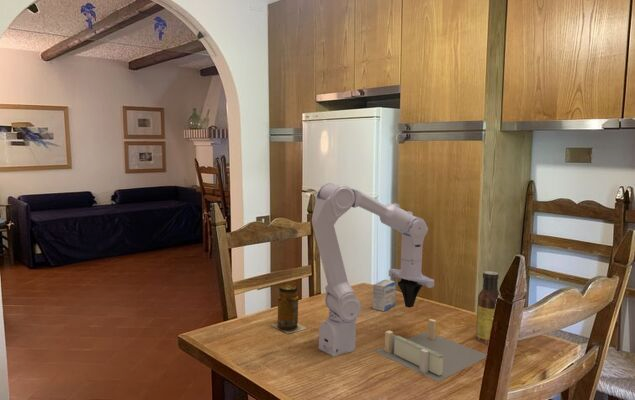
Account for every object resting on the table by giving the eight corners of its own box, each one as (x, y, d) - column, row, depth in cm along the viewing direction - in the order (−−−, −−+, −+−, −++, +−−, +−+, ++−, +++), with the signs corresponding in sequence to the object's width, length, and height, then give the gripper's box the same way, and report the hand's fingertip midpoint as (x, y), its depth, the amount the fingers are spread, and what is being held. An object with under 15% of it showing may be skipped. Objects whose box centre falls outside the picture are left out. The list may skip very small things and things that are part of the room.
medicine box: (383, 312, 151) (384, 286, 151) (372, 309, 154) (373, 283, 153) (395, 305, 158) (396, 281, 157) (383, 303, 160) (384, 278, 159)
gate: (390, 352, 119) (390, 335, 118) (393, 350, 119) (394, 333, 119) (438, 375, 107) (439, 356, 106) (442, 374, 107) (443, 355, 107)
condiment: (290, 320, 143) (291, 282, 141) (307, 328, 136) (308, 289, 135) (270, 325, 138) (271, 286, 137) (287, 334, 131) (287, 294, 130)
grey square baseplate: (437, 384, 105) (439, 359, 104) (373, 353, 120) (374, 331, 119) (489, 358, 119) (491, 336, 118) (426, 333, 134) (427, 313, 133)
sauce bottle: (501, 348, 125) (505, 276, 123) (477, 345, 126) (481, 275, 124) (496, 338, 131) (501, 270, 129) (473, 336, 133) (477, 269, 130)
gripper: (442, 262, 125) (439, 310, 126) (400, 252, 136) (398, 297, 137) (425, 265, 120) (423, 316, 122) (384, 255, 131) (382, 301, 133)
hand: (409, 306), depth 129 cm, fingers closed
